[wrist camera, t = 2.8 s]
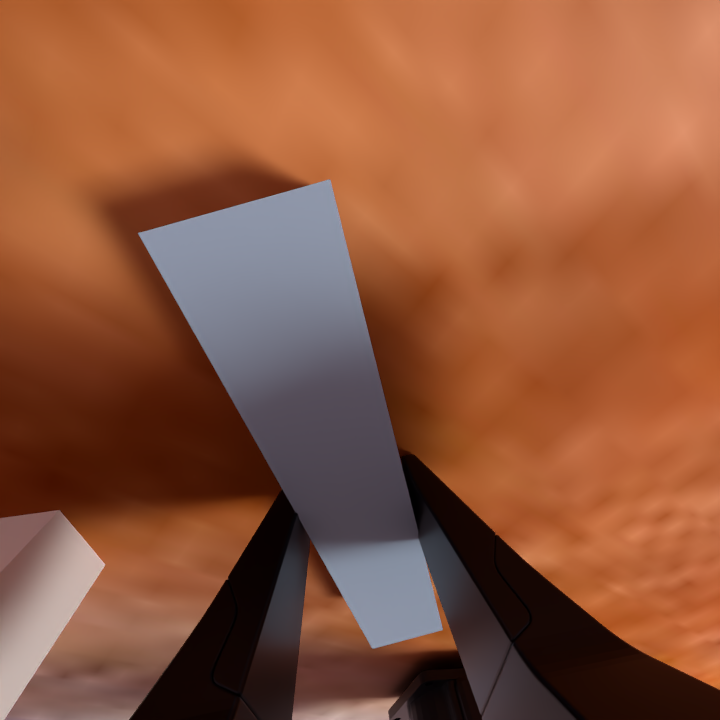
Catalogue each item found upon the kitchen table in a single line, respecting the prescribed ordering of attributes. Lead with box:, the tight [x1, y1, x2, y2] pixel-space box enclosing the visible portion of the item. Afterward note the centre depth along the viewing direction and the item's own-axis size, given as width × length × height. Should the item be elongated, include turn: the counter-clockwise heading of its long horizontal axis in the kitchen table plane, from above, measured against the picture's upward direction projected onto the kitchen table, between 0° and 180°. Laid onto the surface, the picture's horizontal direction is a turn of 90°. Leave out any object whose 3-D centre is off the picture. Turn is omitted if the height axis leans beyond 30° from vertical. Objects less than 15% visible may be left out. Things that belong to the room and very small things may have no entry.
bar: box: [138, 179, 443, 649], centre depth 9 cm, size 16×3×3 cm, turn 14°
